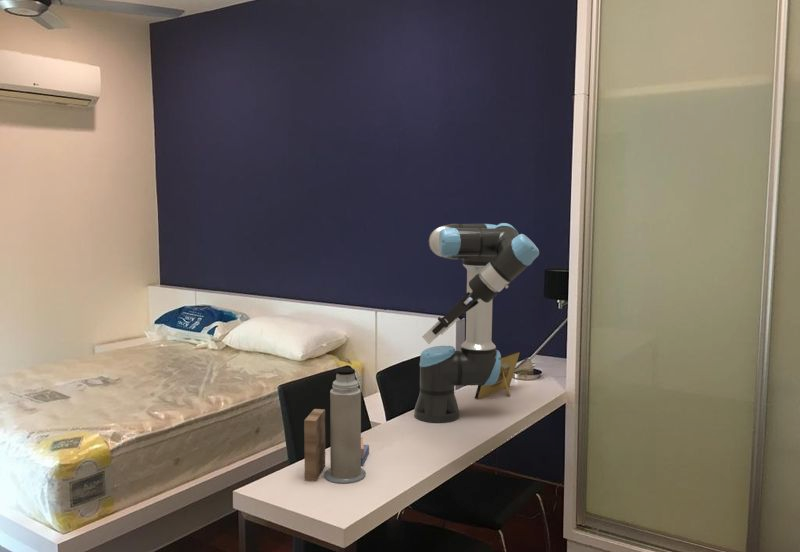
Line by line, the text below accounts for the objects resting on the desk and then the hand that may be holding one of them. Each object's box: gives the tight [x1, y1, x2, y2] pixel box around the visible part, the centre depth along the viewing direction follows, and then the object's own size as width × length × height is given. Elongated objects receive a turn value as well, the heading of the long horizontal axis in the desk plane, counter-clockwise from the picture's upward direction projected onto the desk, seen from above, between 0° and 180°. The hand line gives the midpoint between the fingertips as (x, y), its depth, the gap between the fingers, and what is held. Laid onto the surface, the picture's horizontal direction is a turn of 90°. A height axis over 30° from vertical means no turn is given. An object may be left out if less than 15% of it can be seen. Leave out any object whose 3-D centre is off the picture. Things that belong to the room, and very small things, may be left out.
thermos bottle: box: [329, 367, 362, 479], centre depth 180 cm, size 8×8×28 cm
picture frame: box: [474, 350, 521, 400], centre depth 257 cm, size 23×9×15 cm, turn 141°
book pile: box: [361, 437, 370, 466], centre depth 192 cm, size 10×8×5 cm
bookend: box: [303, 408, 326, 482], centre depth 181 cm, size 10×3×16 cm, turn 172°
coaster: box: [323, 467, 367, 485], centre depth 181 cm, size 11×11×1 cm
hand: (432, 335), depth 187 cm, fingers open, 13 cm apart
